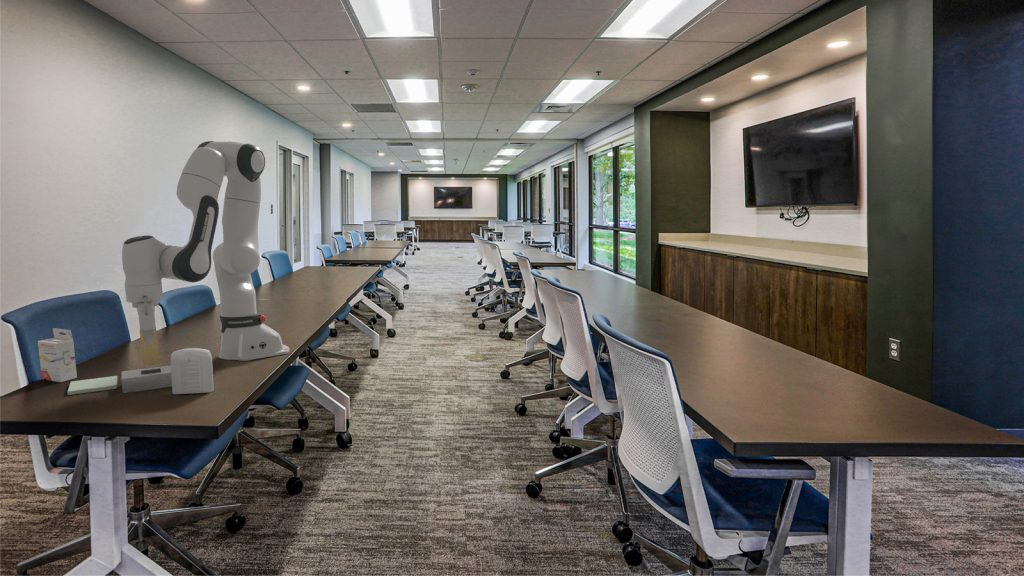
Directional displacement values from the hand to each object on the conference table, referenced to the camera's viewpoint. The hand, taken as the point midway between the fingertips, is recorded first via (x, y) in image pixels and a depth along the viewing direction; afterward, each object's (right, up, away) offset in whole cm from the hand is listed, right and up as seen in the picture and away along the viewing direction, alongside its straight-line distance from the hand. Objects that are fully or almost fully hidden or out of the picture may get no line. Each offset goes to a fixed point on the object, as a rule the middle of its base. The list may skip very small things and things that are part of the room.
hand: (149, 342), depth 167 cm
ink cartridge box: (-31, -12, +7) cm, 34 cm away
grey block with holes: (+2, -12, +2) cm, 13 cm away
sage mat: (-16, -13, 0) cm, 20 cm away
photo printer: (+15, -14, -5) cm, 21 cm away
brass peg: (0, -6, +1) cm, 6 cm away
